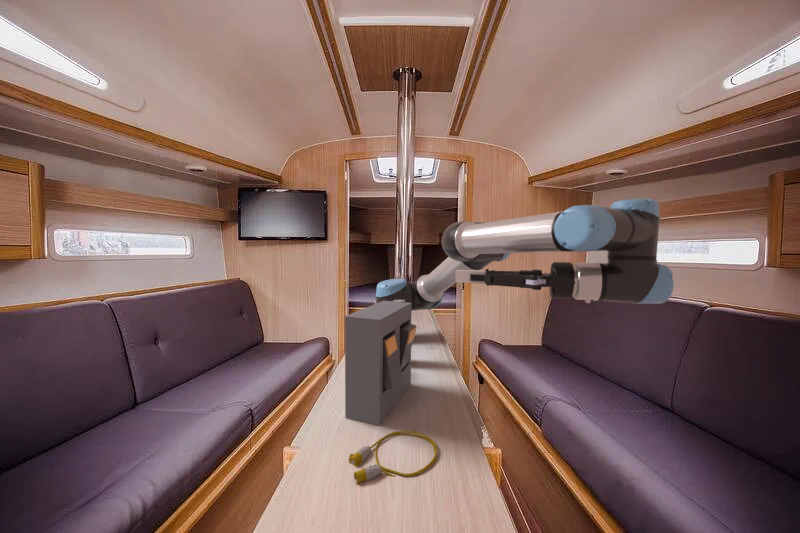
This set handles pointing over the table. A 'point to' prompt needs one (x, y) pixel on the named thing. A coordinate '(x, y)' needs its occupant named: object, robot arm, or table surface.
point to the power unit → (373, 360)
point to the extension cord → (376, 470)
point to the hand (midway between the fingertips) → (456, 276)
